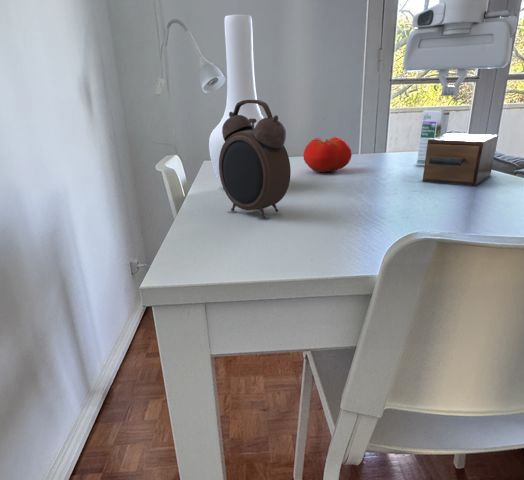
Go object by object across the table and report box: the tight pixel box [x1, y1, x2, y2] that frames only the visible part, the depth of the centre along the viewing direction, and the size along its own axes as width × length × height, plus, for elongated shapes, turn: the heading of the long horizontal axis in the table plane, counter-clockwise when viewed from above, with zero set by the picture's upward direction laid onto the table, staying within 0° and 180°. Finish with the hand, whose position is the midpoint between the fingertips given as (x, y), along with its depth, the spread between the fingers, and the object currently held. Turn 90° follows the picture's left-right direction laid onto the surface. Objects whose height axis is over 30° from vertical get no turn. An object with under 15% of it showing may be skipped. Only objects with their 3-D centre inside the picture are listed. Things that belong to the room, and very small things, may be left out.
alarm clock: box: [219, 99, 292, 220], centre depth 88 cm, size 15×7×20 cm, turn 46°
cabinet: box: [422, 133, 499, 187], centre depth 116 cm, size 15×13×10 cm
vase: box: [208, 14, 265, 188], centre depth 108 cm, size 17×17×35 cm
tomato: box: [302, 136, 353, 173], centre depth 131 cm, size 14×13×9 cm
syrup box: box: [415, 109, 451, 167], centre depth 134 cm, size 6×6×14 cm
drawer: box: [423, 144, 480, 183], centre depth 113 cm, size 18×11×8 cm, turn 145°
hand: (449, 95), depth 97 cm, fingers closed
